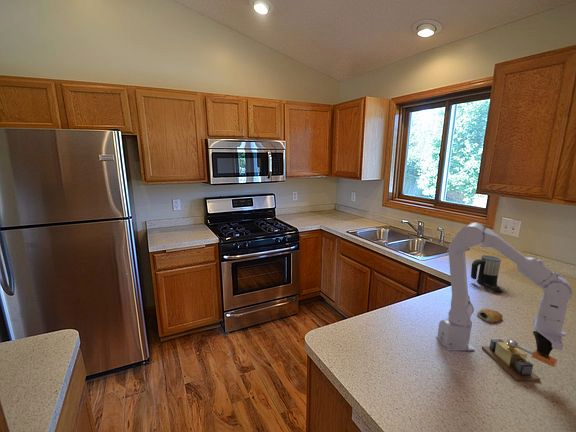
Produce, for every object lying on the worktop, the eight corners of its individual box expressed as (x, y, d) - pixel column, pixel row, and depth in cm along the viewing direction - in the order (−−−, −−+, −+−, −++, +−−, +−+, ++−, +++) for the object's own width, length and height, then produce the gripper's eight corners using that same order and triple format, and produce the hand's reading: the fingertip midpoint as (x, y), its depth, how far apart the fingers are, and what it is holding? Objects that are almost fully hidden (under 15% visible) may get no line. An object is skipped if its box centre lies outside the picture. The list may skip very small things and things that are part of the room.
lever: (505, 344, 90) (506, 340, 90) (508, 342, 92) (509, 337, 91) (553, 367, 80) (554, 362, 80) (556, 364, 82) (557, 359, 81)
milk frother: (485, 279, 159) (489, 254, 156) (514, 291, 144) (519, 264, 142) (466, 281, 155) (470, 256, 152) (494, 294, 140) (499, 266, 137)
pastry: (491, 313, 123) (493, 305, 122) (507, 321, 116) (508, 313, 116) (475, 315, 120) (476, 307, 119) (490, 324, 114) (491, 315, 113)
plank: (517, 380, 83) (517, 378, 83) (481, 348, 98) (482, 346, 98) (539, 380, 84) (540, 378, 84) (500, 348, 98) (501, 346, 98)
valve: (518, 376, 84) (521, 360, 83) (486, 348, 97) (489, 334, 96) (534, 376, 85) (537, 360, 84) (500, 348, 97) (503, 334, 96)
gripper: (581, 332, 74) (571, 377, 77) (557, 307, 87) (548, 346, 90) (547, 326, 77) (538, 369, 80) (529, 302, 90) (521, 340, 93)
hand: (542, 356), depth 85 cm, fingers closed, pressing on lever
